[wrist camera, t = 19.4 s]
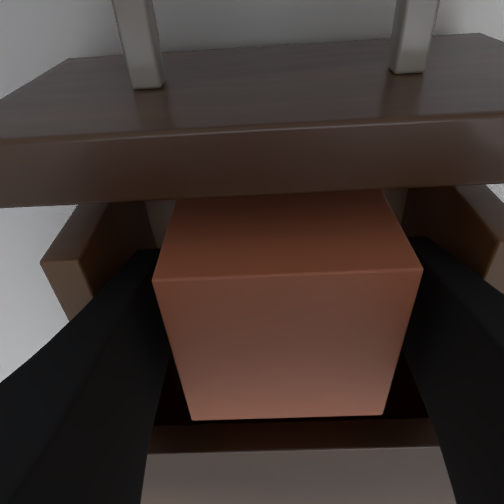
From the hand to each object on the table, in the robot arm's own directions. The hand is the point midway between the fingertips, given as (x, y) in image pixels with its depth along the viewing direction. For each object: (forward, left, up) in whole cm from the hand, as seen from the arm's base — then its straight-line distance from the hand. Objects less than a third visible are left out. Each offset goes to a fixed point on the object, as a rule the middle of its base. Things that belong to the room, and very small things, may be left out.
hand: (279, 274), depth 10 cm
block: (0, 0, -3) cm, 3 cm away
